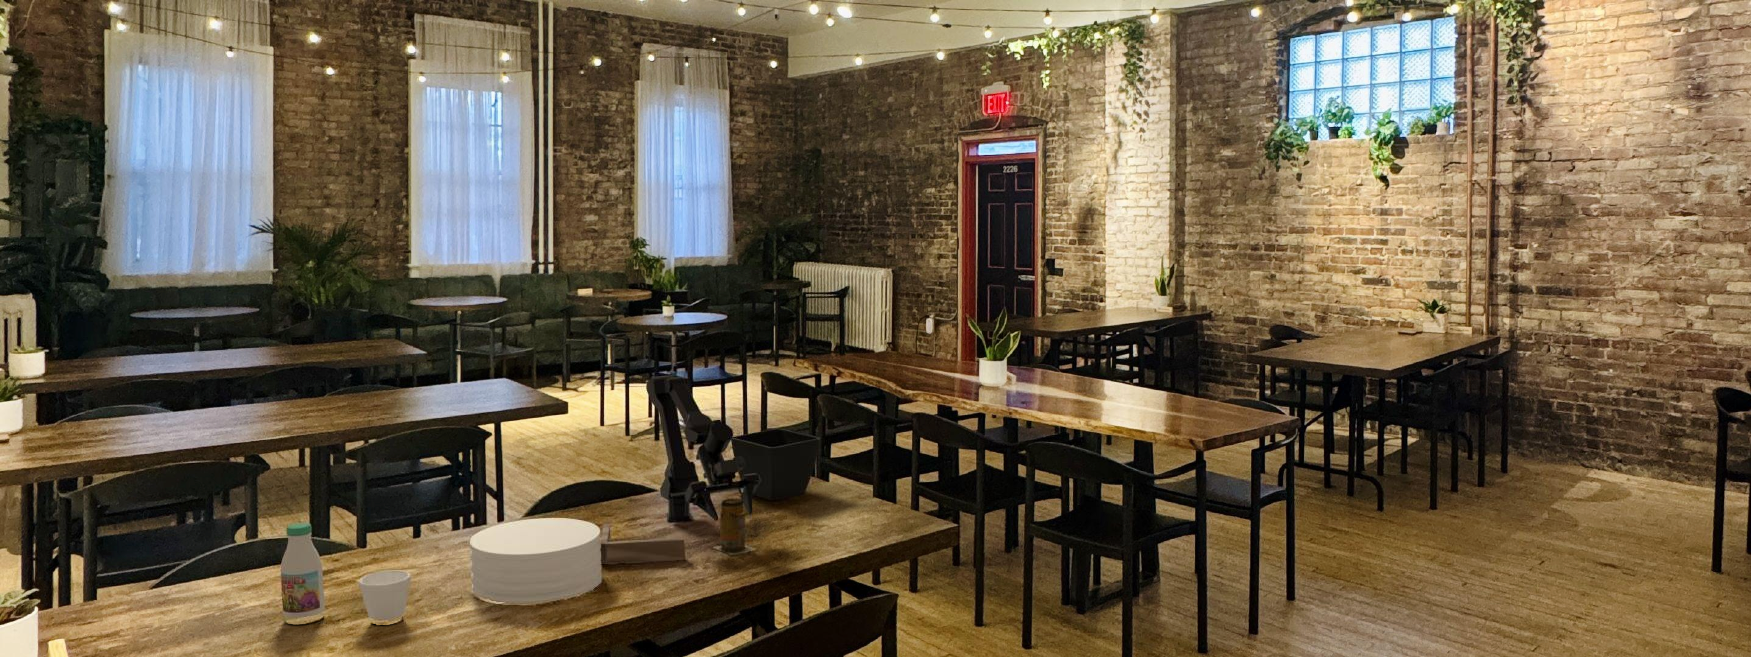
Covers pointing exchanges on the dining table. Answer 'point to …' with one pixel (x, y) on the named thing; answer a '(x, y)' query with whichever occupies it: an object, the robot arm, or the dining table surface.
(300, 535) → the milk bottle
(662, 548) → the corner arena
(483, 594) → the plate stack
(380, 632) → the dining table surface
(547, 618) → the dining table surface
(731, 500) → the condiment
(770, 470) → the flower pot
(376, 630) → the dining table surface
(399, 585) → the cup
